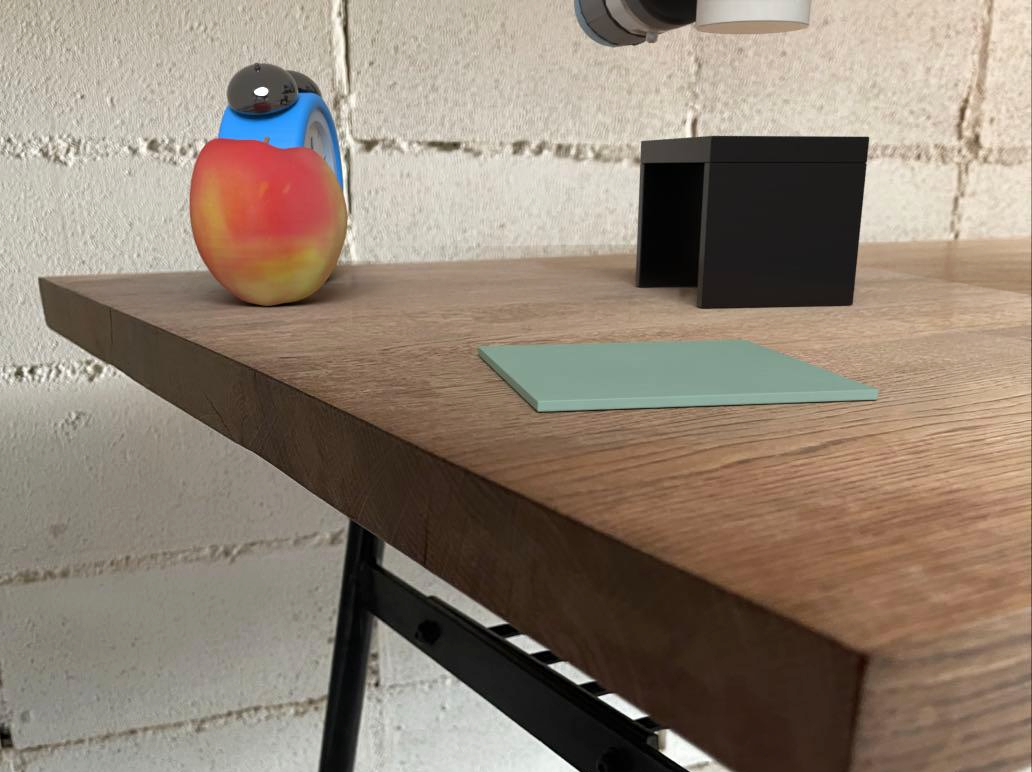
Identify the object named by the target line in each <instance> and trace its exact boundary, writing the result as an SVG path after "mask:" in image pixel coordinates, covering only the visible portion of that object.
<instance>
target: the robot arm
mask: <svg viewBox="0 0 1032 772" xmlns="http://www.w3.org/2000/svg"><path fill="white" fill-rule="evenodd" d="M696 5H697V0H573V8H574V14H575V17H576V20H577V23H578V25H579V27H580V29H581V30H582V31H583V33H584V34H585V35H586V36H587V37H588V38H589V39H591V40H593V42H595V43H597V44H599V45H600V46H603V47H609V48H612V49H613V48H621V47H627V46H629V47H630V46H632V47H635V46H638V45H641V44H644V43H645V42H646V43H648V44H655V43H657V42H658V39H659V35H662V34H665V33H667V32H670V31H674V30H677V29H680V28H684V27H686V26H689V25H691V24H695V23H696Z"/></svg>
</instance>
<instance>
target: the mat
mask: <svg viewBox="0 0 1032 772" xmlns="http://www.w3.org/2000/svg"><path fill="white" fill-rule="evenodd" d="M477 355H478V356H479V357H480V358H481V359H482V360H483V361H484V362H485V363H486V364H487V365H488V366H490V367H491V368H492V369H493V370H494V372H496V373H497V374H498V375H499V376H500V377H501V378H502V379H503V380H504V381H505V382H506V383H507V384H508V385H509V386H510V387H511V388H512V389H513V390H514V391H516V392H517V393H518V395H520V396H521V397H522V398H523V399H524V401H526V402H527V403H528V404H529V405H530V406H531V407H532V408H533V409H534V410H536V412H538V413H545V412H573V411H599V410H601V411H602V410H628V409H629V410H631V409H655V408H684V407H685V408H686V407H687V408H688V407H711V406H712V407H714V406H740V405H741V406H742V405H765V404H767V405H768V404H769V405H770V404H771V405H772V404H794V403H795V404H796V403H799V404H800V403H824V402H850V401H851V402H853V401H854V402H855V401H876V400H878V399H879V392H880V389H878V388H876V387H873V386H870V385H868V384H866V383H863V382H860V381H857V380H854V379H851V378H849V377H846V376H844V375H841V374H839V373H836V372H833V371H830V370H827V369H825V368H823V367H820V366H817V365H814V364H811V363H809V362H807V361H804V360H801V359H799V358H796V357H793V356H791V355H787V354H785V353H782V352H779V351H776V350H774V349H772V348H769V347H765V346H763V345H760V344H758V343H755V342H752V341H750V340H747V339H744V338H743V339H712V340H711V339H710V340H709V339H707V340H706V339H705V340H673V341H672V340H670V341H667V340H666V341H634V342H633V341H631V342H629V341H628V342H597V343H595V342H593V343H589V342H588V343H556V344H555V343H554V344H552V343H551V344H550V343H549V344H518V345H517V344H515V345H513V344H511V345H479V346H477Z"/></svg>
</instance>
